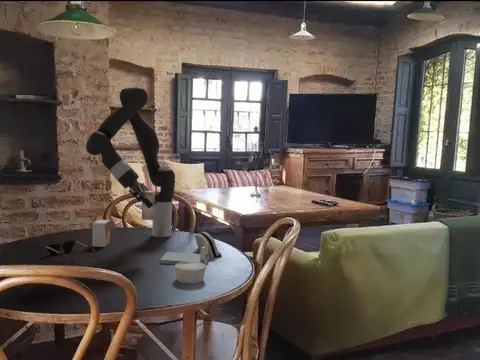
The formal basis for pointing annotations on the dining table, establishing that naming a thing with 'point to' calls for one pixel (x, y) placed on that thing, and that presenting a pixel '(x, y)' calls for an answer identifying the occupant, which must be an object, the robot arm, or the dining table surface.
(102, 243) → the small box
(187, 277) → the ramekin
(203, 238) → the grey half-round upright piece
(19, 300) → the dining table surface
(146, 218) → the birch pin
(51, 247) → the sunglasses
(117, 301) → the dining table surface
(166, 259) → the pad
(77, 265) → the dining table surface
